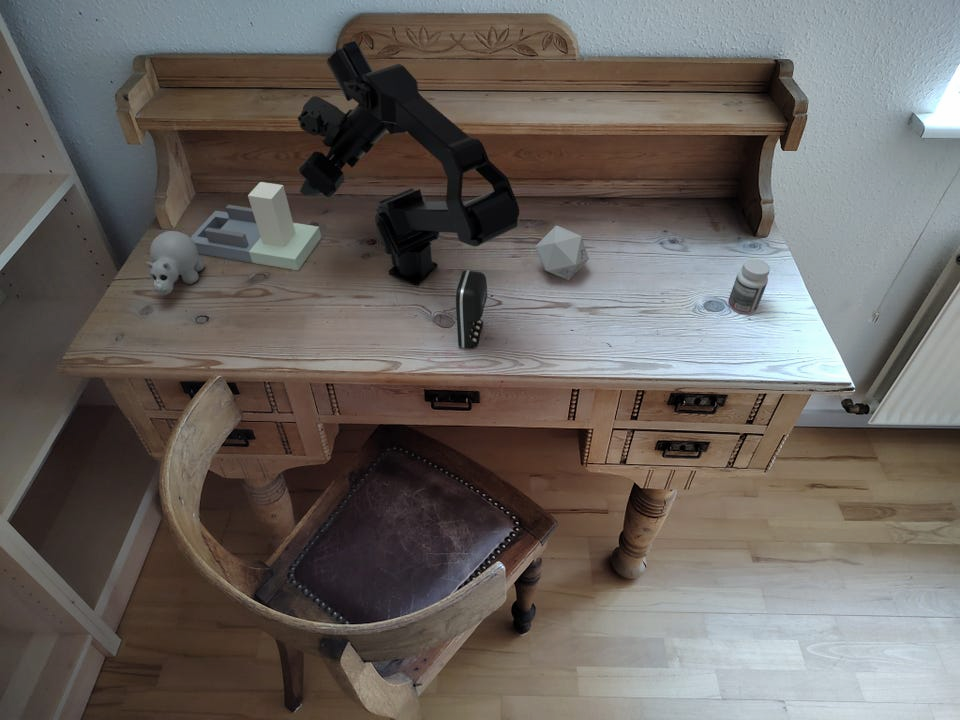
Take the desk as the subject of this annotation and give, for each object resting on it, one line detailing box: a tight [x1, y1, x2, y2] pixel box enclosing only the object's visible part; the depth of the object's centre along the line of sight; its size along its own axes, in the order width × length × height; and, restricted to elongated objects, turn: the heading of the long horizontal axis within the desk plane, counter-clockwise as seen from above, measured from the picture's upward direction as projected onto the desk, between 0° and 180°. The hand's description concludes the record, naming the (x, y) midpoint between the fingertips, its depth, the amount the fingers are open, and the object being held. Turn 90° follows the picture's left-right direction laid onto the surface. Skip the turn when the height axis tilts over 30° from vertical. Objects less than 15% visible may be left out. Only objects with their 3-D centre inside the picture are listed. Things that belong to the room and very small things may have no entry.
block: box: [247, 181, 296, 247], centre depth 117 cm, size 4×4×10 cm
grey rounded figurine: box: [145, 230, 206, 296], centre depth 112 cm, size 8×12×9 cm, turn 176°
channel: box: [189, 204, 322, 271], centre depth 121 cm, size 22×10×5 cm, turn 75°
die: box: [534, 225, 590, 281], centre depth 115 cm, size 8×9×10 cm
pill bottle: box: [727, 257, 771, 315], centre depth 107 cm, size 5×5×8 cm
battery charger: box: [455, 269, 488, 349], centre depth 102 cm, size 7×4×11 cm, turn 170°
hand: (314, 178), depth 114 cm, fingers open, 9 cm apart
